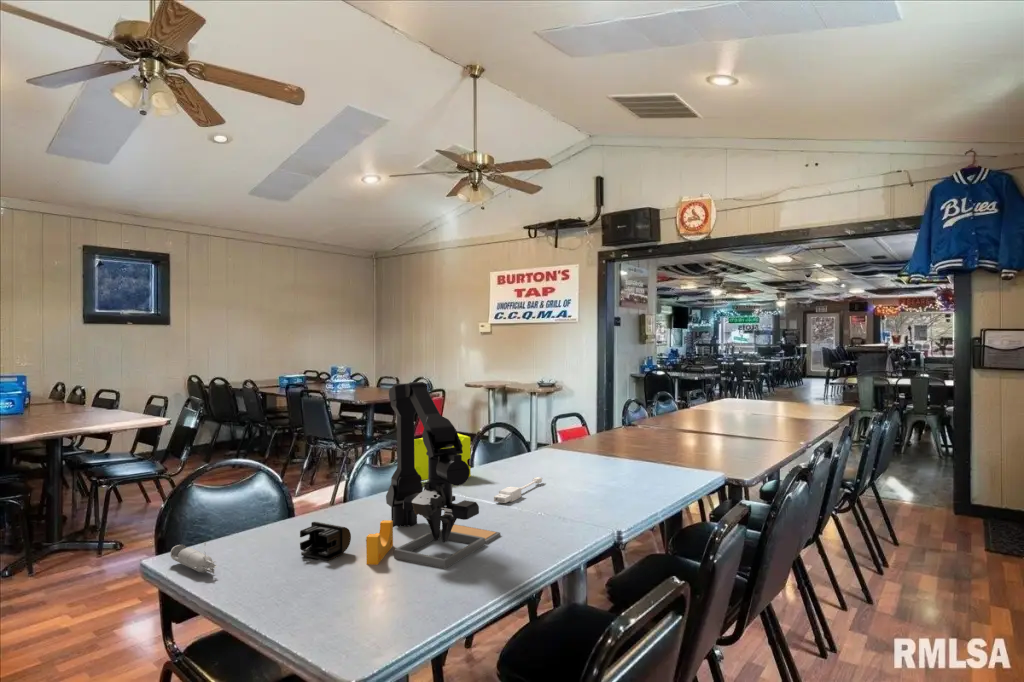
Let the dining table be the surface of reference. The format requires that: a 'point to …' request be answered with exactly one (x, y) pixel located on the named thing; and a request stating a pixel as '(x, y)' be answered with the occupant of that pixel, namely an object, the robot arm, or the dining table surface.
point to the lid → (476, 532)
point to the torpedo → (193, 559)
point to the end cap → (325, 541)
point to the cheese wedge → (421, 450)
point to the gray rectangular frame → (407, 555)
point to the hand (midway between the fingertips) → (440, 541)
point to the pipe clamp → (379, 543)
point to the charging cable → (513, 492)
